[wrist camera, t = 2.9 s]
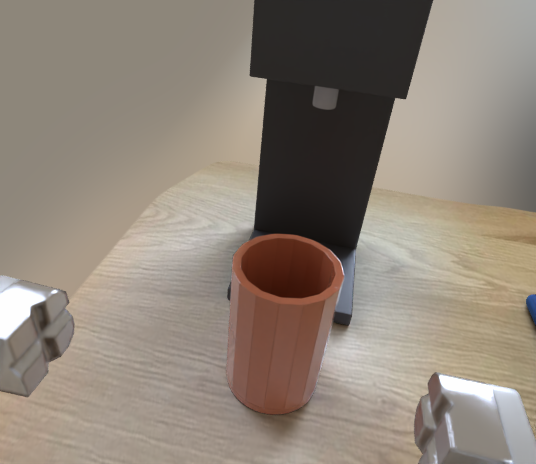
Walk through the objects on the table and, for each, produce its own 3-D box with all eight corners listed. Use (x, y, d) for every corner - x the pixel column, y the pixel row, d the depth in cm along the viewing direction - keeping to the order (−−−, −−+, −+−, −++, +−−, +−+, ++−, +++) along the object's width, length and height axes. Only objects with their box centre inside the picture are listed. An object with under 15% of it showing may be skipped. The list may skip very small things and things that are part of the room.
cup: (210, 392, 27) (212, 280, 22) (249, 327, 32) (258, 223, 26) (300, 430, 25) (327, 320, 20) (327, 356, 30) (354, 251, 25)
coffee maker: (349, 325, 33) (451, -34, 19) (227, 299, 34) (243, -56, 21) (354, 241, 43) (425, -36, 29) (259, 223, 44) (285, -51, 30)
